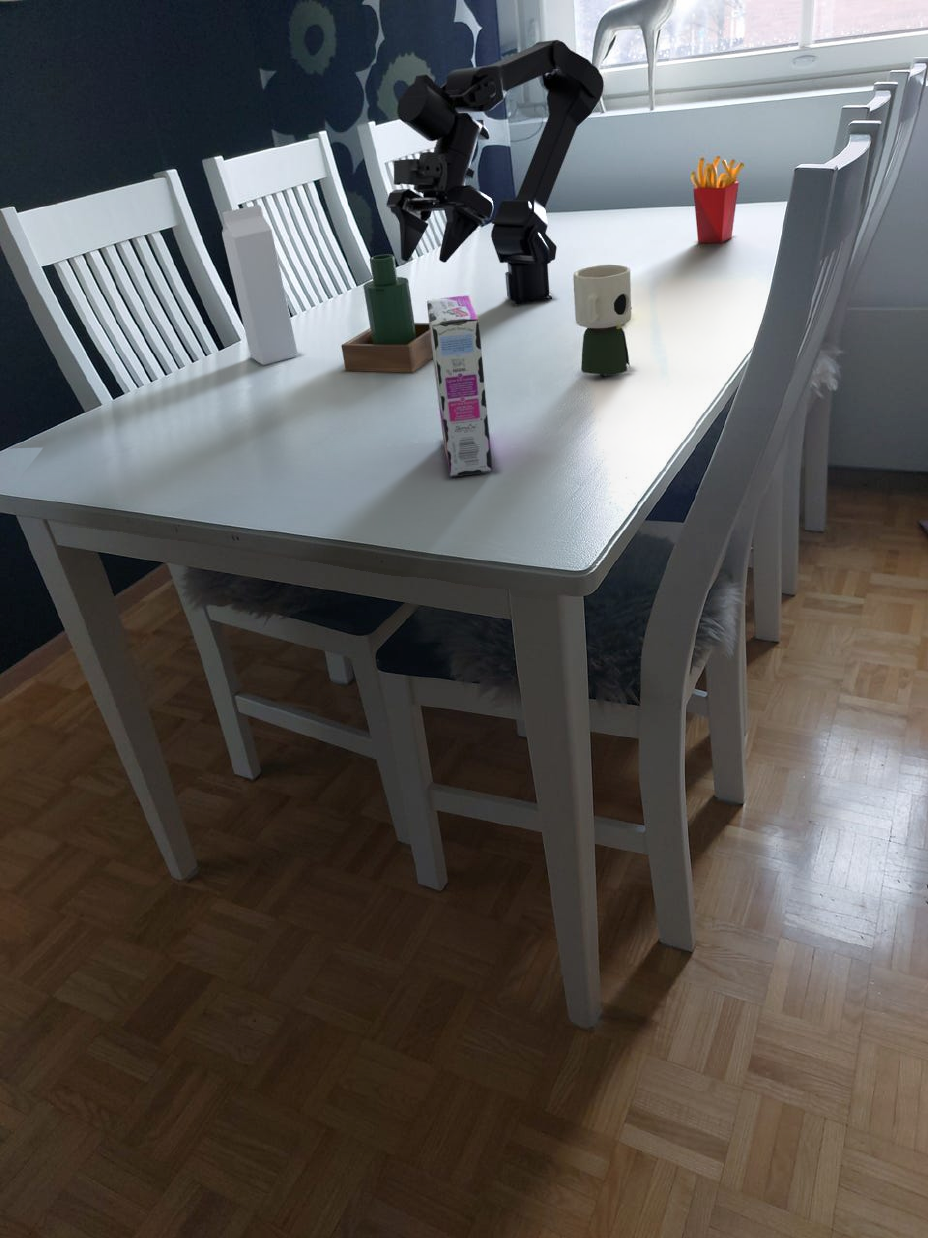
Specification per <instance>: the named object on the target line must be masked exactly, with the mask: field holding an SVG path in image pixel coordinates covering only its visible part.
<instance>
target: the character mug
mask: <svg viewBox="0 0 928 1238" xmlns="http://www.w3.org/2000/svg"><path fill="white" fill-rule="evenodd" d="M631 278H632V277H631V268H630V266H627V265H622V264H599V265H593V266H587V267H584V268H580V269H578V270H576V271H574V272H573V278H572V279H573V297H574V316H575V323H576V324H577V325H578V326H579V327H583V328H586V329H585V331H584V333H583V337H582V348H581V365H580V367H581V368H580V369H581V372H582V373H586V374H590V375H592V374H593V375H599V376H600V377H602V378H603V377H605V376H608V377H610V376H615V375H621V374H623V373H625V372H627V371H628V368H631V366H630V365H631V364H630V357H629V350H628V345H627V344H628V343H627V339H626V334H625V330H624V329H623V327H622V326H623V324H626V323H628V322H630V321H631V319H632V311H633V310H632V309H631V307H632V279H631Z"/></svg>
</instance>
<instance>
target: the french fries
mask: <svg viewBox="0 0 928 1238" xmlns="http://www.w3.org/2000/svg"><path fill="white" fill-rule="evenodd" d="M721 159H722V157H721V156H720V155H717V156H715V159H714V160H713V162H711V163H710V162H709V163H706V164H705V157H701V158H699V159H698V164H697V169H696V171H692V172H691V175H690V179H691V182H692V184H693V185H694V188H693V189H692V190H693V201H694V211H695V212H694V213H695V222H696V234H697V243H708V244H713V243H715V244H716V243H717V244H722V243H724V242H726V241H727V240H729V239H731V238H732V236H733V228H734V222H735V215H736V208H737V207H736V206H737V198H738V193H739V184H740V181H737V179H738V176H739V174H740V173H741V171H742V169H743V168H744V167H745V163H744V162H739V163H738V164H737V166H736V167H734V165H735V164H736V159H734V158H733V159H731V160H730V162H729V163H728V164H727V161H726V159H723V160H721ZM720 162H721V163H722V165H723V167H724V171H725V172H722V173H720V174H719V175H718V166H719V163H720ZM704 164H705V167H704ZM696 173H697V174H696Z"/></svg>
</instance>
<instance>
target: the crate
mask: <svg viewBox="0 0 928 1238" xmlns="http://www.w3.org/2000/svg"><path fill="white" fill-rule="evenodd" d="M414 324H415V331H416V339H415V340H413V341H412V342H410V343H409V344H407V345H383V344H373V341H372V335H371V329H370V327H368V329H366V330H364V331H363V332H361V333H359V334H357V335H356V336H354V337H353V338H351V339H349V340H347V341H346V342H344V343H343V344H341V345H340V347H341V351H342V357H343V362H344V369H345V371H349V372H379V373H380V372H381V373H409V374H410V373H414V372H416V371H417V370H418V369H420V368H421V367H422V366H424V365H425V364H426V363H428V362H429V361H431V360H432V359H433V352H432V343H431V335H430V326H429V322H414Z"/></svg>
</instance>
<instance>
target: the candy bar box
mask: <svg viewBox="0 0 928 1238" xmlns="http://www.w3.org/2000/svg"><path fill="white" fill-rule="evenodd" d="M426 307H427V316H428V317H427V318H428V323H429V326H430V335H431V343H432V352H433V358H432V359H433V360H432V361H433V367H434V377H435V382H436V383H435V384H436V393H437V394H436V395H437V401H438V409H439V416H440V424H441V431H442V432H441V433H442V440H443V446H444V450H445V455H446V456H445V457H446V461H447V467H448V475H449V477H452V478H453V477H463V476H470V475H477V474H480V475H481V474H487V473H491V472H493V470H494V469H493V461H492V460H493V459H492V450H491V449H492V448H491V440H490V439H491V438H490V428H489V415H488V404H487V393H486V384H485V372H484V363H483V361H484V359H483V352H482V351H483V349H482V342H481V341H482V340H481V331H480V329H481V328H480V320H479V317H478V315H477V313H476V310H475V308H474V305H473V303H472V299H471V297H470V295H458V296H449V297H442V298H436V299H429V300H426Z"/></svg>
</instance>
